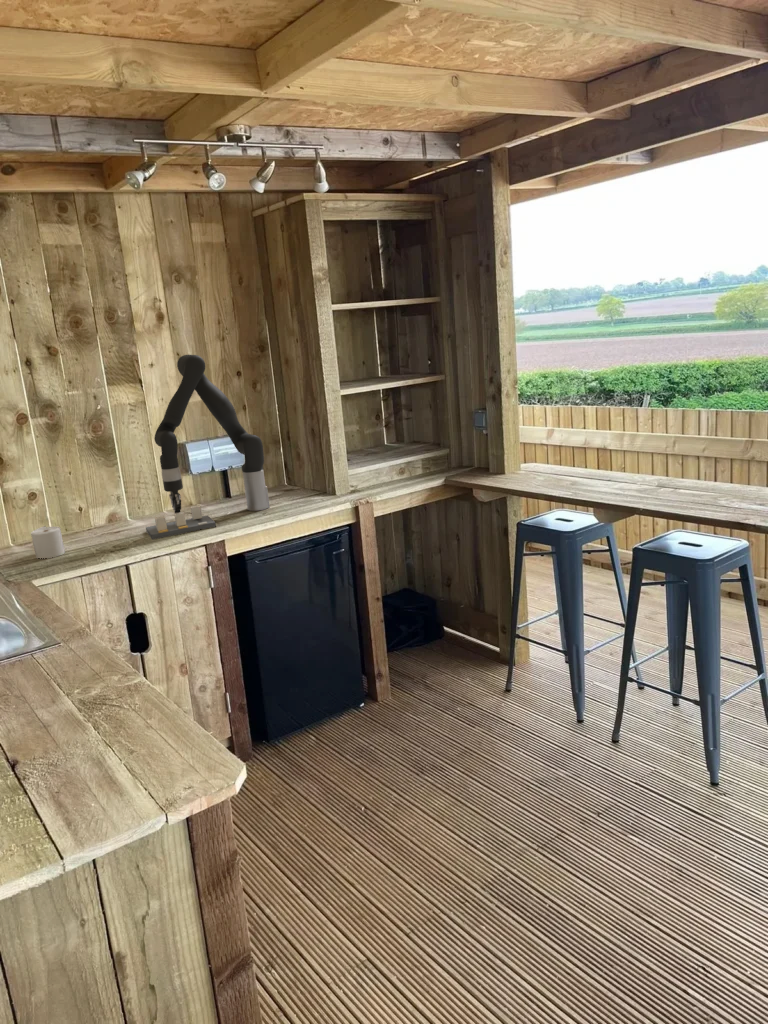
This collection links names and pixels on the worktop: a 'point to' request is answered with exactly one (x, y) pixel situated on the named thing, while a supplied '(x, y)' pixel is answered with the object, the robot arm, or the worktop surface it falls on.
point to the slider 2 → (196, 512)
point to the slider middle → (180, 518)
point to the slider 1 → (160, 523)
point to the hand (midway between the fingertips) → (178, 519)
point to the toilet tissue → (47, 542)
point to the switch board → (181, 527)
